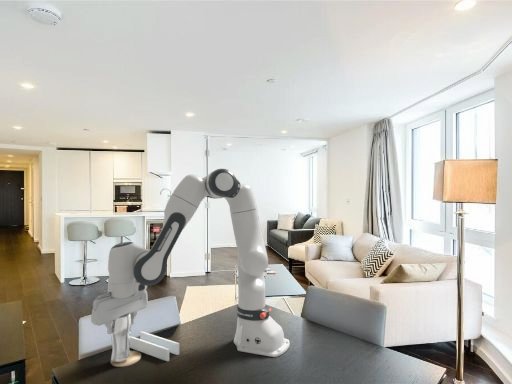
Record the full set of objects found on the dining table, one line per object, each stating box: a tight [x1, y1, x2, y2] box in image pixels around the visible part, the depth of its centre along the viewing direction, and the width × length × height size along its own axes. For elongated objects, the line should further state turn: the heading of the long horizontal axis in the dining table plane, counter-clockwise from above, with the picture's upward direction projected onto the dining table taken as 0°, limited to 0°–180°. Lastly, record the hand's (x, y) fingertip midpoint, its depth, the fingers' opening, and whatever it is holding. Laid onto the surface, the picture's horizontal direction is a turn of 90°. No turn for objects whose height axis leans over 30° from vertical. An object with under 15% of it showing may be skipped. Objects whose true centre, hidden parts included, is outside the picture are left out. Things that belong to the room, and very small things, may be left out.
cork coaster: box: [110, 350, 142, 368], centre depth 107 cm, size 10×10×1 cm
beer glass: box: [109, 313, 133, 362], centre depth 105 cm, size 7×7×15 cm
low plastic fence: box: [129, 330, 180, 362], centre depth 113 cm, size 20×6×4 cm, turn 61°
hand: (121, 328), depth 105 cm, fingers closed on beer glass, 6 cm apart
